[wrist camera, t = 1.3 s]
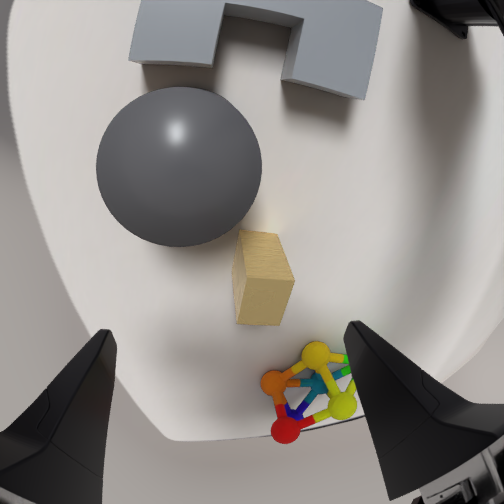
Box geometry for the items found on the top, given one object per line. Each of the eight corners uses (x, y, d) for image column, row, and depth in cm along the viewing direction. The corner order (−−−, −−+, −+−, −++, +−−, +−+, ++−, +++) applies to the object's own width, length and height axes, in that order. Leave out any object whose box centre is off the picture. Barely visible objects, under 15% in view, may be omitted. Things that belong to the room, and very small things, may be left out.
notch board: (362, 15, 14) (383, 8, 11) (345, 97, 17) (364, 100, 15) (162, -24, 11) (153, -40, 8) (141, 64, 15) (128, 60, 12)
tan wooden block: (277, 233, 23) (294, 280, 18) (266, 274, 25) (279, 325, 20) (239, 229, 22) (247, 277, 17) (231, 271, 24) (236, 324, 19)
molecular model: (338, 350, 39) (276, 433, 33) (300, 308, 36) (226, 402, 30) (400, 367, 29) (329, 473, 23) (368, 320, 26) (276, 449, 21)
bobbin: (257, 96, 17) (277, 100, 11) (237, 205, 21) (245, 253, 15) (138, 85, 15) (101, 85, 10) (129, 194, 19) (99, 239, 14)
